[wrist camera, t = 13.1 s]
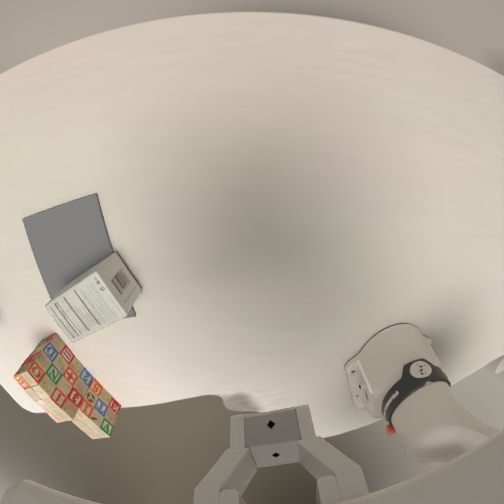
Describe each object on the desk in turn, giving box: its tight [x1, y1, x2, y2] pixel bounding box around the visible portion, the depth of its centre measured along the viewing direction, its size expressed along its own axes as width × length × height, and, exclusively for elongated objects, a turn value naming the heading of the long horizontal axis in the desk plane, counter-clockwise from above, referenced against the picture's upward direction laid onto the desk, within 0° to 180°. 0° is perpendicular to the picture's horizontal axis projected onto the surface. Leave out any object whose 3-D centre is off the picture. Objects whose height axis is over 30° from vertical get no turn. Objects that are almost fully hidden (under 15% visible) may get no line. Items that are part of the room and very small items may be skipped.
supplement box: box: [45, 252, 142, 343], centre depth 38 cm, size 7×7×13 cm
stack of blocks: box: [13, 333, 121, 439], centre depth 44 cm, size 21×6×12 cm, turn 26°
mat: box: [23, 193, 136, 318], centre depth 40 cm, size 20×16×1 cm
